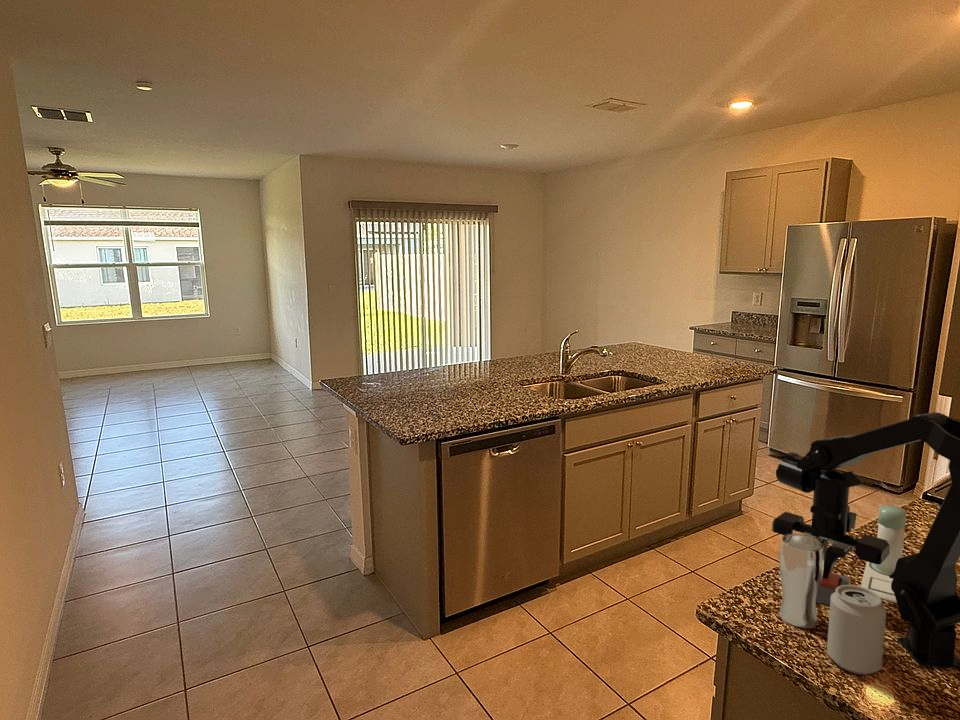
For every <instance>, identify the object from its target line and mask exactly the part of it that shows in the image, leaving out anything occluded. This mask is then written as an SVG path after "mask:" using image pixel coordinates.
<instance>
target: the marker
mask: <svg viewBox="0 0 960 720" xmlns="http://www.w3.org/2000/svg"><path fill="white" fill-rule="evenodd" d="M907 513H908V512H907V511H906V510H905V509H904V508H903V507H899V506H896V505H895V506H894V505H890V504H888V505H886V504H883V505H879V507H878V517H877V518H878V519H877V522H878V524H877V536H876V537H877V538H880V539H884V540H886V541H887V542H888V544H889V545H890V551H889V555H888V556H887V558H886V559H885V560H884V561H883V562H882V563H881V564H875V567H876V568H877V569H879V570H881V571H883V572H886V573H891V574H893V572H894V571H895V567H896V563H897V561H898V559H899V558H902V557H903V551H904V549H903V548H904V541H905V540H904V538H905V530H906V529H905V528H906V524H907V523H906V522H907Z"/></svg>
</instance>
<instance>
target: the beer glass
mask: <svg viewBox="0 0 960 720" xmlns="http://www.w3.org/2000/svg"><path fill="white" fill-rule="evenodd" d="M823 548H824V545H823V543H822V542H821V541H819V540H818V539H816V538H813V537H811V536H807V535H804V533H792V534H787V535H782V536H781V545H780V552H779V561H778V563H779V565H778V566H779V575H780V583H781V589H782V600H781V604H780V609H779V612H778V613H779V617H780V618H781V619H782V620H783V621H784V622H785V623H787V624H788V625H791V626H793V627H797V628H802V629H810V628H811V629H812V628H814V627H816V625H817V624H818V615H817V602H816V599H817V595H818V592H819V589H820V585H821V582H822V577H823V570H824V550H823Z"/></svg>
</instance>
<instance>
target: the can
mask: <svg viewBox="0 0 960 720" xmlns="http://www.w3.org/2000/svg"><path fill="white" fill-rule="evenodd" d="M828 617H829V618H828V629H827V643H826V645H827V647H826V653H827V654H828V656H829V657H830V658H831V659H832V660H833V661H834V663H835V664H836V665H837V666H839V667H840V668H842V669H843V670H846V671H848V672H849V673H853V674H856V675H870V674H874V673H877V672H879V671H880V670H881V669H882V666H883V655H884V654H883V653H884V641H885V631H886V619H887V608H886V607H885V606H884V604H883V599H881V598H880V597H879V596H878V595H877V594H876V593H874V592H872V591H870V590H869V589H866V588H863V587H861V586H859V585H854V584H853V585H852V584H850V585H842V586H839V587H837V588H836V592H834V593H833V594H832V595H831V599H830V606H829V616H828Z"/></svg>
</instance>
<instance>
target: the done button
mask: <svg viewBox="0 0 960 720" xmlns="http://www.w3.org/2000/svg"><path fill="white" fill-rule="evenodd" d="M833 573H834V572H832V573H830V575H829V577H828V578H824V577H822V582H821V585H822V586H825V587H829V588H833V589H836V588H837V587H839V582H840V575H841V574H839V575H836V574H837V573H835V574H833Z"/></svg>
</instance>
